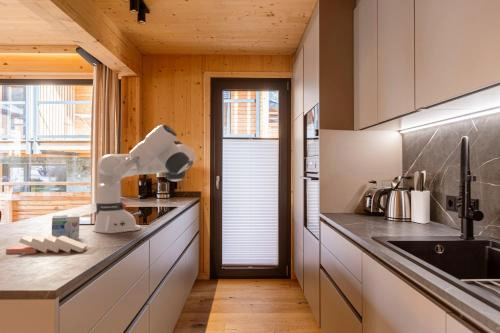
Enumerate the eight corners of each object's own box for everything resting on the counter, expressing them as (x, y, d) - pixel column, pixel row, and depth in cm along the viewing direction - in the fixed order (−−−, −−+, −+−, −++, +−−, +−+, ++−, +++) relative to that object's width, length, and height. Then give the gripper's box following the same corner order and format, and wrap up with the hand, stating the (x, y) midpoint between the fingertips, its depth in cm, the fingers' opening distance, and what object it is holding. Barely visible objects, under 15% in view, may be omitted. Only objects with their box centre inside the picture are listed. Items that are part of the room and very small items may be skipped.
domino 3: (65, 245, 126) (39, 235, 125) (59, 248, 121) (32, 238, 120) (63, 249, 126) (38, 239, 125) (57, 252, 121) (30, 242, 120)
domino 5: (87, 245, 127) (62, 235, 126) (82, 248, 122) (56, 238, 121) (85, 249, 127) (60, 239, 126) (80, 252, 122) (54, 242, 121)
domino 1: (42, 245, 125) (14, 245, 124) (35, 248, 120) (6, 249, 119) (42, 249, 125) (14, 250, 124) (35, 253, 120) (6, 253, 119)
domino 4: (76, 245, 127) (51, 235, 125) (70, 248, 122) (44, 238, 121) (74, 249, 127) (49, 239, 125) (68, 252, 122) (42, 242, 120)
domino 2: (53, 245, 126) (28, 235, 125) (47, 248, 121) (20, 238, 120) (51, 249, 126) (26, 238, 124) (45, 252, 121) (18, 242, 120)
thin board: (101, 249, 130) (101, 247, 130) (92, 256, 120) (92, 254, 120) (36, 250, 127) (36, 248, 127) (21, 257, 117) (22, 255, 117)
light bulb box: (51, 242, 141) (51, 217, 141) (52, 239, 147) (52, 215, 147) (79, 240, 146) (79, 216, 146) (79, 237, 152) (79, 214, 152)
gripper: (140, 163, 117) (112, 190, 116) (151, 163, 137) (126, 186, 136) (128, 150, 116) (99, 177, 115) (140, 152, 137) (115, 175, 136)
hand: (114, 182), depth 126 cm, fingers closed
